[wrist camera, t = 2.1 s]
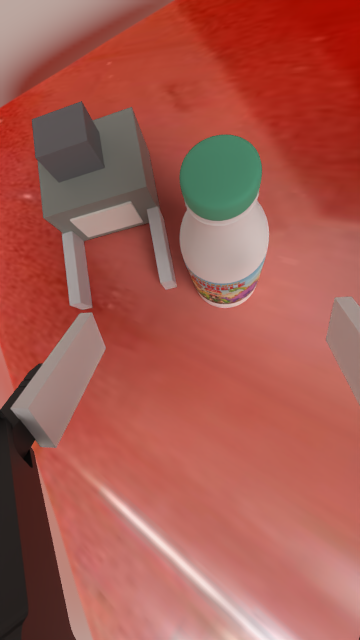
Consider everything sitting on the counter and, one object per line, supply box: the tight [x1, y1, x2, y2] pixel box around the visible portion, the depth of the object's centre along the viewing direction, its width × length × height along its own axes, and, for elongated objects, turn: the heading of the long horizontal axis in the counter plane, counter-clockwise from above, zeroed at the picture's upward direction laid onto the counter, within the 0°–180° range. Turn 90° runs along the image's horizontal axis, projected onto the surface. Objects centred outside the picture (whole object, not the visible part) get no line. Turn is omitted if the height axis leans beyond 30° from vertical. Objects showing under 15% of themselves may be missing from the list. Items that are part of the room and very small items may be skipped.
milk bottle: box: [180, 135, 269, 308], centre depth 24 cm, size 8×8×20 cm
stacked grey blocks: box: [32, 101, 177, 310], centre depth 33 cm, size 14×21×11 cm, turn 11°
